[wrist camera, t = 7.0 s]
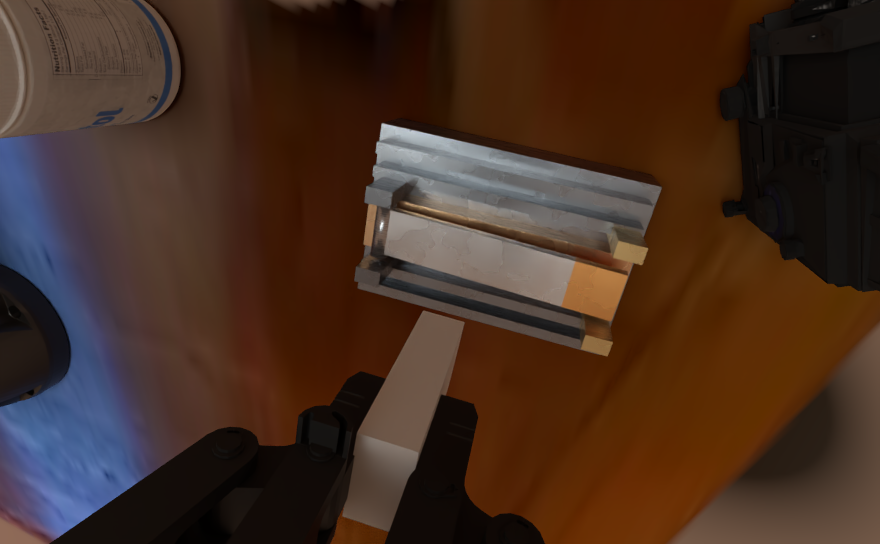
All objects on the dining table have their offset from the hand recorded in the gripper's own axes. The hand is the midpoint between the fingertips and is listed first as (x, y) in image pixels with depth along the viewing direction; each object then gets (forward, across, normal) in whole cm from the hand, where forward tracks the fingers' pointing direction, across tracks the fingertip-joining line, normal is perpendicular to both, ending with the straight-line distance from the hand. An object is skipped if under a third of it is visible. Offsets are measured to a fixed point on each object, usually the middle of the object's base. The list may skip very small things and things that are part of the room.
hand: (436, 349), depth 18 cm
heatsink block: (+22, +1, -2) cm, 22 cm away
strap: (+15, +1, -1) cm, 15 cm away
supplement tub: (+22, -30, +4) cm, 38 cm away
